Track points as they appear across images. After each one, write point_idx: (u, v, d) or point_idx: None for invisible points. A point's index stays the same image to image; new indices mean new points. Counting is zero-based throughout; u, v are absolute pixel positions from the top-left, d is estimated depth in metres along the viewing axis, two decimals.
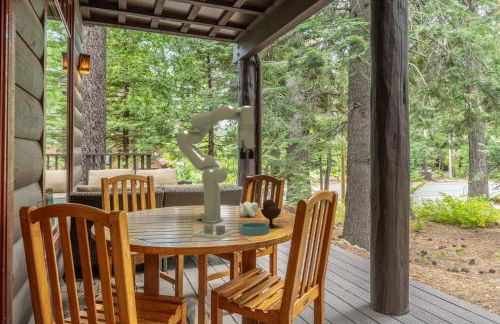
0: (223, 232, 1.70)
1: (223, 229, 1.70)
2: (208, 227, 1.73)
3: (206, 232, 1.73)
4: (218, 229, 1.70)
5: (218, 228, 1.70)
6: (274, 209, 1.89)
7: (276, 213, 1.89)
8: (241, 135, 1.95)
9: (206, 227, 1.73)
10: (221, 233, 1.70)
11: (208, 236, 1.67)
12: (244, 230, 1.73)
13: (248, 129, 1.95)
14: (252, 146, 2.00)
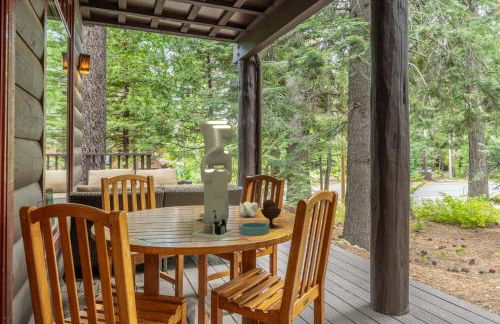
0: (223, 232, 1.70)
1: (223, 229, 1.70)
2: (208, 227, 1.73)
3: (206, 232, 1.73)
4: None
5: None
6: (274, 209, 1.89)
7: (276, 213, 1.89)
8: (213, 204, 1.68)
9: (206, 227, 1.73)
10: (221, 233, 1.70)
11: (208, 236, 1.67)
12: (244, 230, 1.73)
13: (221, 197, 1.68)
14: (226, 215, 1.73)
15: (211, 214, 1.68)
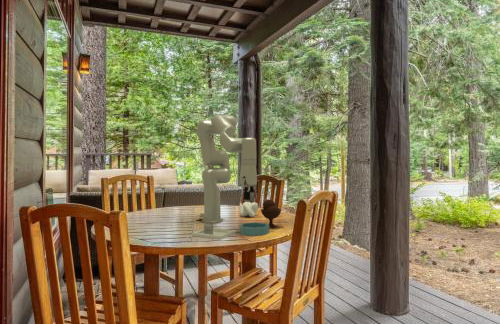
0: (252, 198, 1.77)
1: (252, 195, 1.77)
2: (208, 227, 1.73)
3: (206, 232, 1.73)
4: None
5: None
6: (274, 209, 1.89)
7: (276, 213, 1.89)
8: (242, 171, 1.75)
9: (206, 227, 1.73)
10: (250, 199, 1.77)
11: (208, 236, 1.67)
12: (244, 230, 1.73)
13: (250, 164, 1.75)
14: (255, 182, 1.80)
15: (241, 180, 1.75)
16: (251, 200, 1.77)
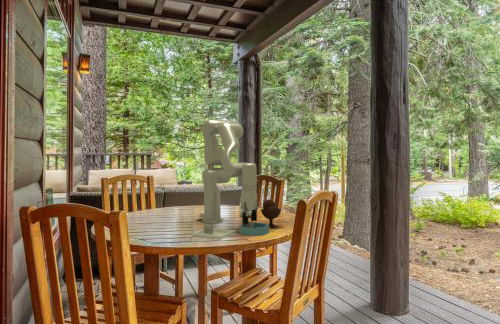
0: None
1: (252, 225, 1.78)
2: (208, 227, 1.73)
3: (206, 232, 1.73)
4: (247, 225, 1.77)
5: (247, 224, 1.77)
6: (274, 209, 1.89)
7: (276, 213, 1.89)
8: (243, 196, 1.75)
9: (206, 227, 1.73)
10: None
11: (208, 236, 1.67)
12: (244, 230, 1.73)
13: (251, 190, 1.75)
14: (255, 207, 1.80)
15: (241, 206, 1.75)
16: None
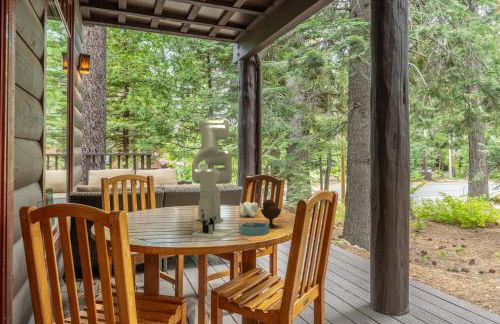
0: None
1: (252, 225, 1.78)
2: None
3: None
4: (248, 225, 1.77)
5: (248, 224, 1.77)
6: (274, 209, 1.89)
7: (276, 213, 1.89)
8: (201, 204, 1.71)
9: None
10: None
11: (208, 236, 1.67)
12: (244, 230, 1.73)
13: (209, 197, 1.71)
14: (214, 214, 1.76)
15: (199, 213, 1.71)
16: None
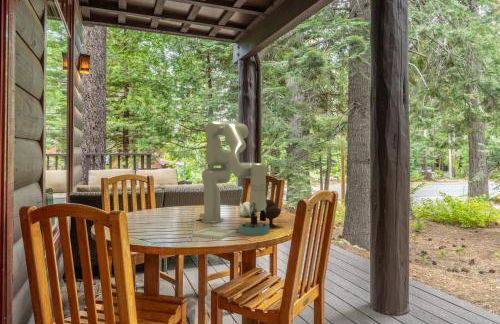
0: None
1: (252, 225, 1.78)
2: (259, 225, 1.75)
3: None
4: (248, 225, 1.77)
5: (248, 224, 1.77)
6: (274, 209, 1.89)
7: (276, 213, 1.89)
8: (252, 197, 1.73)
9: (257, 225, 1.75)
10: None
11: (208, 236, 1.67)
12: (244, 230, 1.73)
13: (260, 190, 1.73)
14: (264, 207, 1.78)
15: None
16: None
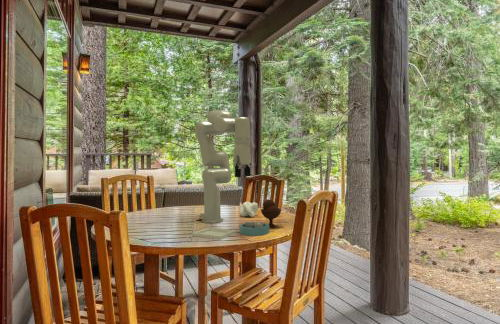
0: None
1: (252, 225, 1.78)
2: (259, 225, 1.75)
3: None
4: (248, 225, 1.77)
5: (248, 224, 1.77)
6: (274, 209, 1.89)
7: (276, 213, 1.89)
8: (236, 150, 1.74)
9: (257, 225, 1.75)
10: None
11: (208, 236, 1.67)
12: (244, 230, 1.73)
13: (244, 143, 1.74)
14: (248, 162, 1.79)
15: None
16: None
